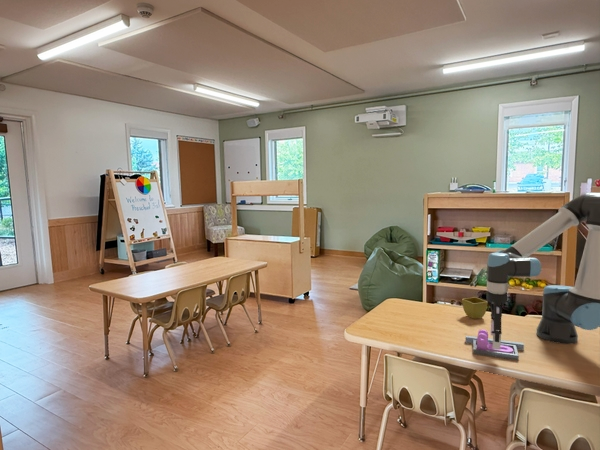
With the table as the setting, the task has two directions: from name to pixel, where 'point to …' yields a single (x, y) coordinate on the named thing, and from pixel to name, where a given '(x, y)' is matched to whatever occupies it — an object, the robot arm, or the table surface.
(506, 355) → the shallow rectangular tray
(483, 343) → the bracket
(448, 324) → the table surface
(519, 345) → the door edge
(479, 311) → the flower pot
